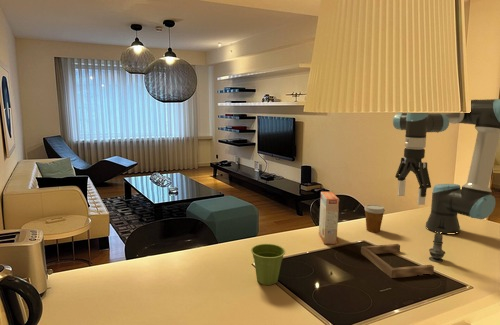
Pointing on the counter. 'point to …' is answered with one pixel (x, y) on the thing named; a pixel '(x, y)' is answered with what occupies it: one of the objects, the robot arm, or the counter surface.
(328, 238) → the cracker box
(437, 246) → the dark grey candlestick
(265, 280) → the plant pot
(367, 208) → the disposable coffee cup
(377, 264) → the brown u-shaped bracket
